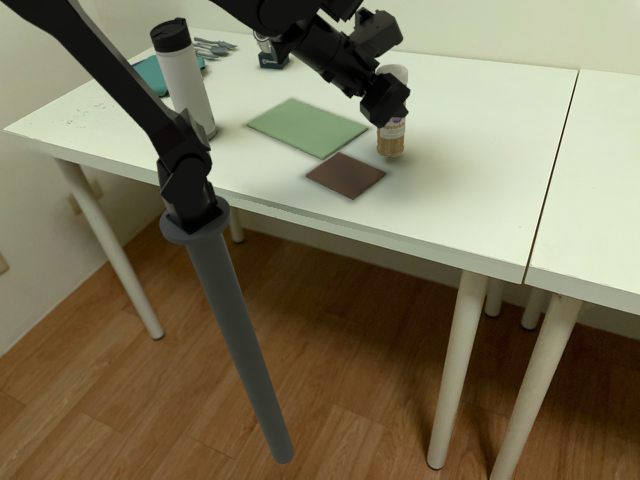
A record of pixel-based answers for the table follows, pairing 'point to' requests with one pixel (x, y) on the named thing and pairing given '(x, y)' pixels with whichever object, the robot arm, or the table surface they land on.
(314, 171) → the walnut mat
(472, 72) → the table surface
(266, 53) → the watch
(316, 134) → the green mat
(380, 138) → the sprinkles bottle
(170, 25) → the travel mug
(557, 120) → the table surface
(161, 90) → the cutlery set
